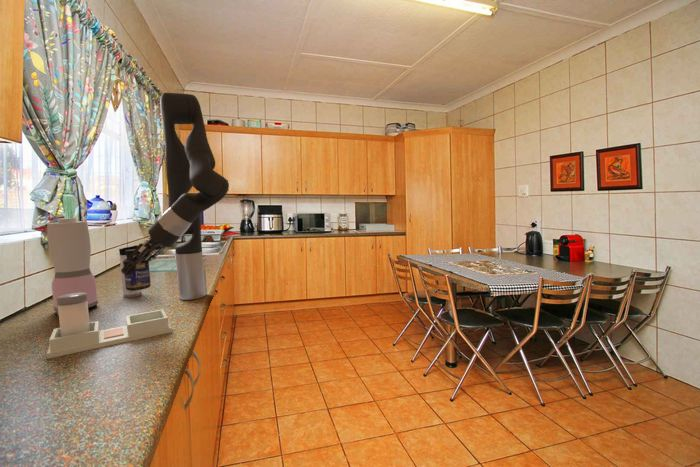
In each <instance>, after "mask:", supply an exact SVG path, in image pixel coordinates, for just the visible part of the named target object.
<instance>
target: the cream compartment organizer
mask: <svg viewBox="0 0 700 467" xmlns="http://www.w3.org/2000/svg"><path fill="white" fill-rule="evenodd" d="M56 300H57V305H58V313H59V315H58V318H59V319H58V320H59V327H56V328H53V330H52V333H51V335H50V337H49V340H48V341H49V346H48V349H47V352H46V355H45V356H46V359H51V358H52V359H53V358H58V357H62V356H66V355H72V354H75V353H81V352H85V351H89V350H94V349H99V348H104V347H109V346H113V345H119V344H123V343H127V342H132V341H136V340H141V339H147V338H152V337H156V336H160V335H164V334H165V335H166V334H169V333H170V334H171V333H172V332H173V328H172V326H171V324H170V322H169V317H168V315H167V314H166V312H165V310H164V309H163V308H162V309H159V310H158V309H157V310H153V311H152V310H151V311H146V312H141V313H134V314H130V315H129V314H128V315H126V316H125V320H126V325H122V326H117V327H112V328H107V329H101V330H100V321H99V320H97V321H96V320H95V321H91V322H90V316H89V314H90V313H89V307H88V303H87V300H88V299H87V293H72V294H66V295H62V296H59V297H57V298H56Z"/></svg>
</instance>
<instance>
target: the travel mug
mask: <svg viewBox="0 0 700 467" xmlns="http://www.w3.org/2000/svg"><path fill="white" fill-rule="evenodd" d="M138 245H139V244H138ZM138 245H132V246H127V247H122V248H119V249H118V251H119V261H120V274H121V284H122V286H121V287H122V296H123V298H126V297H129V298H135V297H139V296H140V297H141V296H142V294H143V293H142V290H136V291H131V290H127V289H126V286H125V276H124V273H122V272H121V270H122V269H123V267H124V265H123V261H124V260H125V259H127V256H126V254H125V251H126V250H131V249H136V248H137V247H138Z"/></svg>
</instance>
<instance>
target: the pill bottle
mask: <svg viewBox="0 0 700 467" xmlns="http://www.w3.org/2000/svg"><path fill="white" fill-rule="evenodd" d="M134 250H135V249H131V250H126V251H125V254H126V256H127V259H128V257H129V256H130V255H131V254H132V253H133V251H134ZM127 259H125V260H124V261H123V265H124V266H125V265H126V264H127V263H128V262H129V261H128V260H127ZM135 259H136V260H137V257H135ZM150 274H151V273H150V263H149V260H148V259H147V260H146V261H144V260H143V261H142V262H141V263H140V264H139V265H138V266H137V267H136V268H135V269H134V270H133V271H132V272H131V273H130V274H129V275H125V274H124V276H125V286H126V289H127V290H131V291H136V290H141V291H142V290H145V289H149V288H150V287H151V275H150Z"/></svg>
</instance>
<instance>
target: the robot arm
mask: <svg viewBox="0 0 700 467" xmlns="http://www.w3.org/2000/svg"><path fill="white" fill-rule="evenodd" d="M159 99H160V100H159V103H160V115H161V122H162V123H161V124H162V130H163V138H164V147H165V148H164V149H165V150H164V151H165V152H164V153H165V174H166V175H165V176H166V184H167V191H168V192H167V194H168V209H166V210H165V211H164V212H163V213H162V214H161V215H160V216H159V218H157V219H156V221H155V222H154V223H153V224H152V225H151V227H149V228H148V231H147V232H148V235H149V237H150V239H148V240H145V241H144V242H142V243H139V244H138V247H137V248H136V249H135V250H134V251H133V253H132V254H131V255H130V256H129V257H128V259H127V260H128V261H129V262H128V263H127V264H126V265H125V266H124V267H123V269H122V270H121V269H120V273H121V272H122V273H124V274H125V275H129V274H130V273H131V272H132V271H133V270H134V269H135V268H136V267H137V266H138V265H139V264H140V263H141V262H142V261H143V260H144V261H146V260H147V259H148V260H149V262H151V261H153V260H154V259H156V258H157V257H158V256H159V255H160V254H161V253H162V252H163V251H164V250H165V249H166V248H172V247H173V246H174V245H175V244H176V243H177V242H178V241H179V239H180V238H181V237H182V236H189V235H191V236H190V238H189V239H188V240H186V241H185V242H183V243H182V242H181V243H179V244H178V245H176V246H175V249H174V251H175V261H176V262H175V263H176V273H177V276H176V277H177V287H178V298H179V300H182V301H183V300H184V301H187V300H188V301H189V300H196V299H200V298H204V297H205V296H206V295H207V294H208V288H207V287H208V286H207V276H206V275H207V274H206V270H205V269H204V259H203V246H202V243H203V242H202V219H201V214H202V213H203V212H204V211H206V210H209V209H210V208H211V207H212V206H214V205H216V204H217V203H218V202H220V201H222V200H223V199H224V197H225V196H226V195H227V193H228V192H229V187H230V186H229V185H230V184H229V181H228V180H227V178H225V177H224V176H222V175H221V174H220V173H218V172H217V171H215V168H216V160H215V156H214V154H213V151H212V148H211V146H210V143H209V141H208V140H209V139H208V136H207V132H206V126H205V122H204V116H203V111H202V108H201V105H200V102H199V99H198V97H197V96H195V95H194V94H189V93H179V92H163V93H162V94H161V95H160V98H159ZM176 125H192V128H191V131H190V132H189V134H188V135H187V137H186V139H185V143H182V141H181V139H180V137H179V136H178V134H177V132H176V127H175V126H176ZM192 188H194V189H195V190H196V191H198V192H197V193H194V194H193V193H189V192H190V191H191V190H192ZM135 257H137V260H136V259H135Z"/></svg>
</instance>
